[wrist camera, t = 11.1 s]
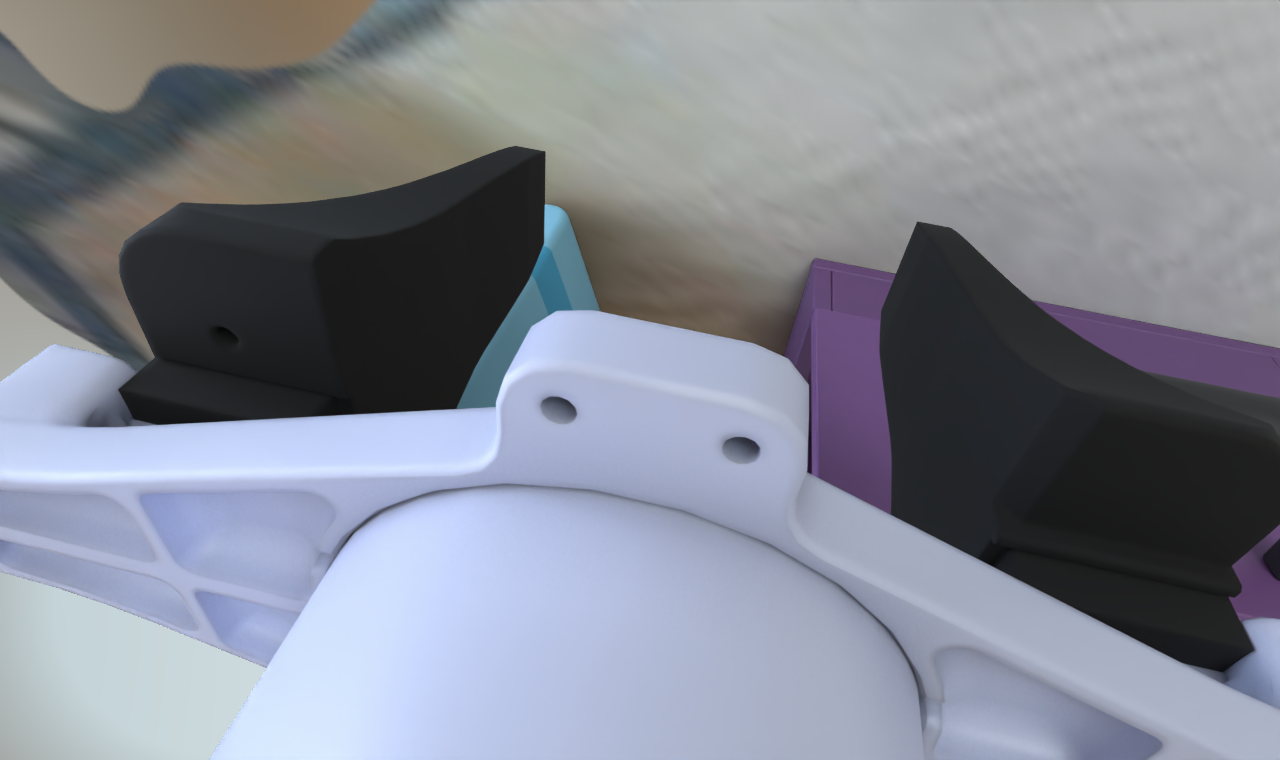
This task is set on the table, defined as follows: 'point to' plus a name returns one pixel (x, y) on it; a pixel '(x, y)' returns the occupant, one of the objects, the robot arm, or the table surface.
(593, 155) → the table surface
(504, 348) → the data package
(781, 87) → the table surface
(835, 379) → the cover
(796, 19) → the table surface
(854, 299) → the purple box
